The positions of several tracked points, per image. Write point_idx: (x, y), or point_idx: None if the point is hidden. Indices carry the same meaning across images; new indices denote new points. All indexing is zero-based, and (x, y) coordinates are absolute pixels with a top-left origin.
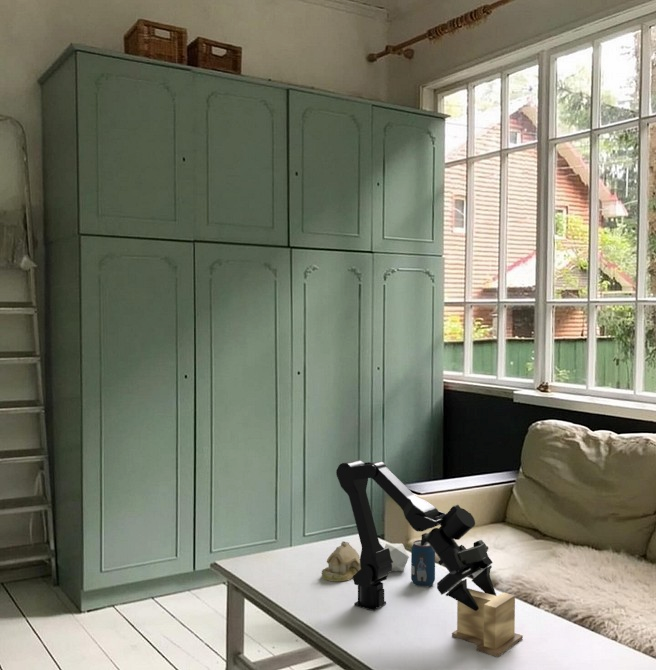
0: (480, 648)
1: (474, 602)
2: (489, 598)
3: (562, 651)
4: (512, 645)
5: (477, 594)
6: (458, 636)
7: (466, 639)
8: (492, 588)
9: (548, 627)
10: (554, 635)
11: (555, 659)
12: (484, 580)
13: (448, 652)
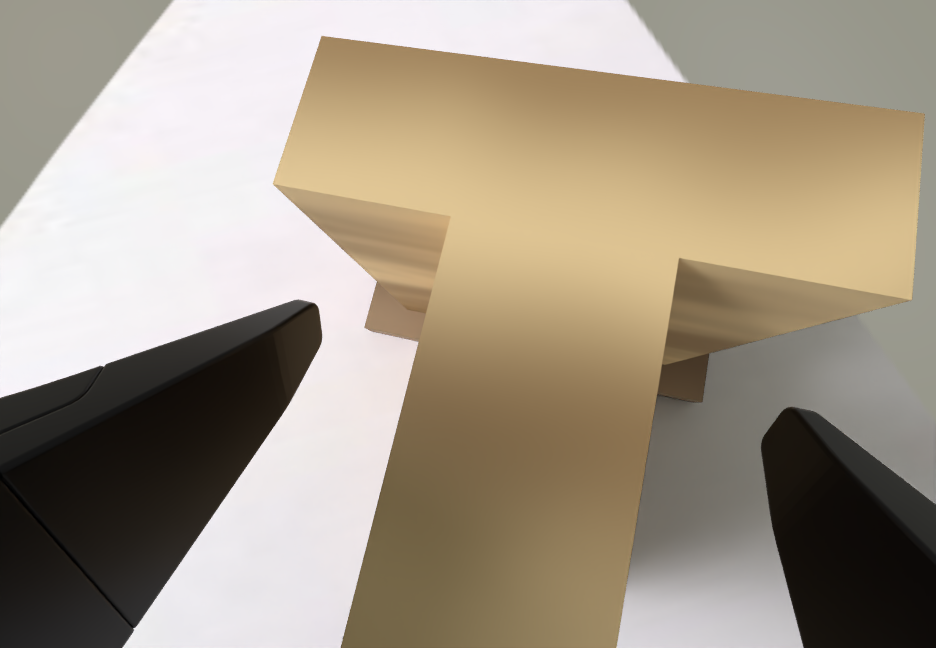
0: (705, 375)
1: (896, 480)
2: (603, 295)
3: (466, 14)
4: None
5: (531, 523)
6: None
7: None
8: (218, 347)
9: (208, 133)
10: (295, 87)
11: (574, 19)
12: (57, 524)
13: None
